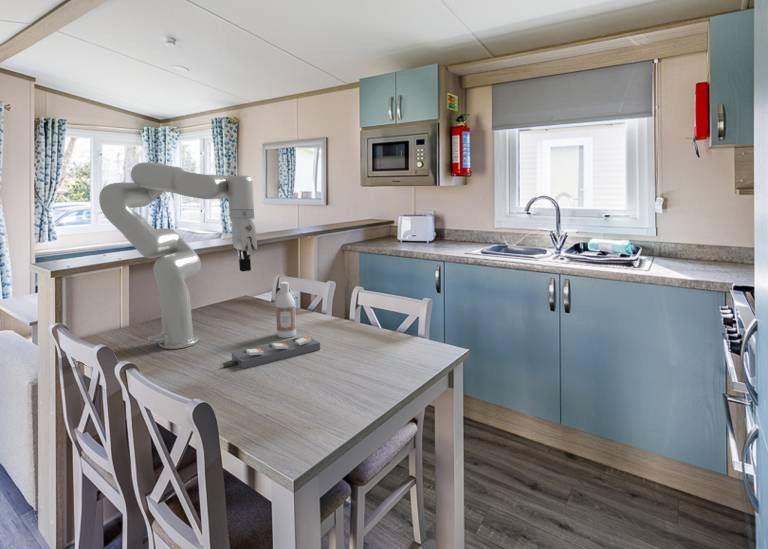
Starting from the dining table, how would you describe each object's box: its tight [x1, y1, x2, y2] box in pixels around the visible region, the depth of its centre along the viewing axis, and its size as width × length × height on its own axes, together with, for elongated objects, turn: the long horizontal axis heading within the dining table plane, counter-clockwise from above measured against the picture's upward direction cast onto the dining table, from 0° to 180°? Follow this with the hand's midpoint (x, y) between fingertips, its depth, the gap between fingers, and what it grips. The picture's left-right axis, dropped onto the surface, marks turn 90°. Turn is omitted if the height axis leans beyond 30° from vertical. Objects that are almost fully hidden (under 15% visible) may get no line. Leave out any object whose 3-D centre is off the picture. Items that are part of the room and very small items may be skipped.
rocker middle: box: [271, 342, 289, 349], centre depth 148 cm, size 4×3×1 cm
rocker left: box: [245, 348, 264, 355], centre depth 142 cm, size 4×3×1 cm
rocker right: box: [295, 335, 312, 345], centre depth 152 cm, size 4×3×1 cm
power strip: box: [222, 335, 321, 370], centre depth 148 cm, size 31×9×3 cm, turn 127°
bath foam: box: [275, 281, 297, 339], centre depth 167 cm, size 7×7×20 cm
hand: (245, 270), depth 150 cm, fingers closed
